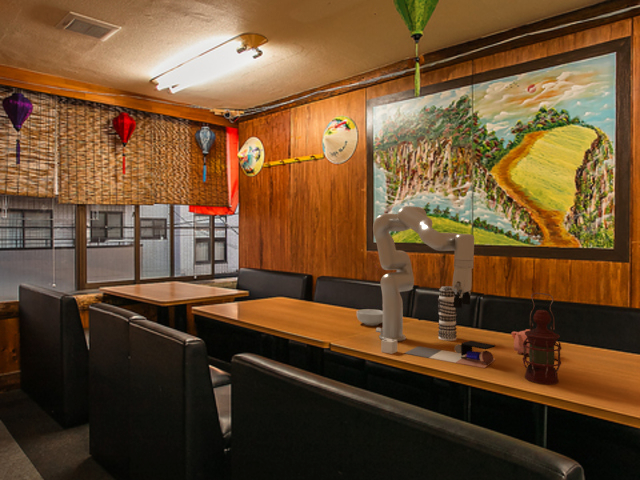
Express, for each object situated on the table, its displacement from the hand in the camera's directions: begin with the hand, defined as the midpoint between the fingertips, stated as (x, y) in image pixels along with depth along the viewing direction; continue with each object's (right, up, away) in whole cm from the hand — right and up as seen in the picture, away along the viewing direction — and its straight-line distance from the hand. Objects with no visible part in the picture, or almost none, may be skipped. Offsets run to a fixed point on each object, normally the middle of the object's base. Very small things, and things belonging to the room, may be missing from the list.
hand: (462, 305), depth 180 cm
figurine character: (+3, -21, -7) cm, 22 cm away
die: (-29, -21, +7) cm, 36 cm away
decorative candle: (+3, -21, +31) cm, 37 cm away
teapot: (+30, -21, +5) cm, 37 cm away
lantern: (+18, -22, -28) cm, 40 cm away
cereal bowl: (-30, -20, +64) cm, 74 cm away
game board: (-5, -21, 0) cm, 22 cm away
